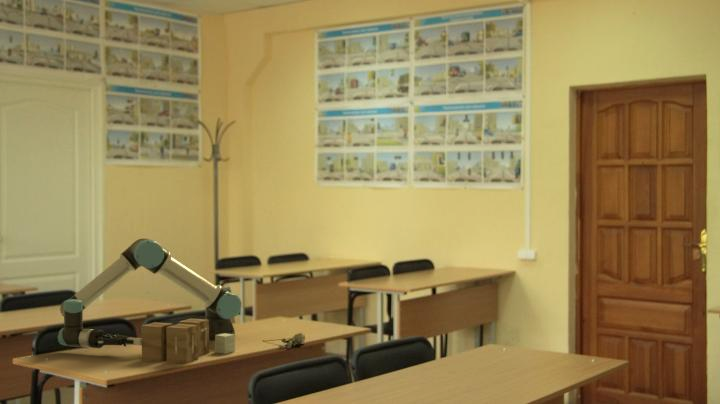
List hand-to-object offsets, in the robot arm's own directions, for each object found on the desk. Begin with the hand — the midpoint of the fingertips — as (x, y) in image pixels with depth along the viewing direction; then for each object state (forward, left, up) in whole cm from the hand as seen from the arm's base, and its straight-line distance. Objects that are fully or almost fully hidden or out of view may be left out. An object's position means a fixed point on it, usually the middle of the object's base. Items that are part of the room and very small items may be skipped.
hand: (141, 341), depth 371 cm
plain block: (-5, +5, -6) cm, 10 cm away
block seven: (-21, +2, -6) cm, 22 cm away
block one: (-14, +14, -6) cm, 20 cm away
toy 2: (-61, -3, -7) cm, 61 cm away
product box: (-34, +2, -7) cm, 35 cm away
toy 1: (-51, -62, -7) cm, 81 cm away
